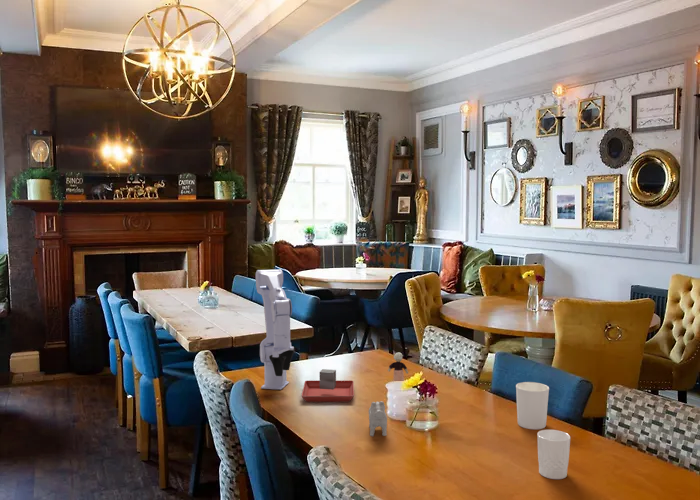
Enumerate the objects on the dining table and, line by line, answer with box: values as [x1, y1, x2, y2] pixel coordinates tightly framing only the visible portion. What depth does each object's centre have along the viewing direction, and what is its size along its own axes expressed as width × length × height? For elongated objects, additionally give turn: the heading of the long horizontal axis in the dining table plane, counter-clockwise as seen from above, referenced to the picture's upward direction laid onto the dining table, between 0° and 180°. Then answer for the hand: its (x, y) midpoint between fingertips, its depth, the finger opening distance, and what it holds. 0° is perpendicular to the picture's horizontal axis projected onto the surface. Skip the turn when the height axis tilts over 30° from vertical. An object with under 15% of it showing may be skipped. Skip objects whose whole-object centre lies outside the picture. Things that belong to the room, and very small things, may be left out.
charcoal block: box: [319, 368, 337, 390], centre depth 223 cm, size 4×5×6 cm
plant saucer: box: [301, 380, 355, 403], centre depth 223 cm, size 18×18×3 cm
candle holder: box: [515, 381, 550, 430], centre depth 193 cm, size 10×10×12 cm
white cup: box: [536, 429, 571, 480], centre depth 158 cm, size 8×8×10 cm
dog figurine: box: [368, 400, 388, 437], centre depth 187 cm, size 5×13×11 cm, turn 2°
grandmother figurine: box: [387, 352, 409, 382], centre depth 234 cm, size 8×4×13 cm, turn 84°
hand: (282, 372), depth 218 cm, fingers open, 7 cm apart
